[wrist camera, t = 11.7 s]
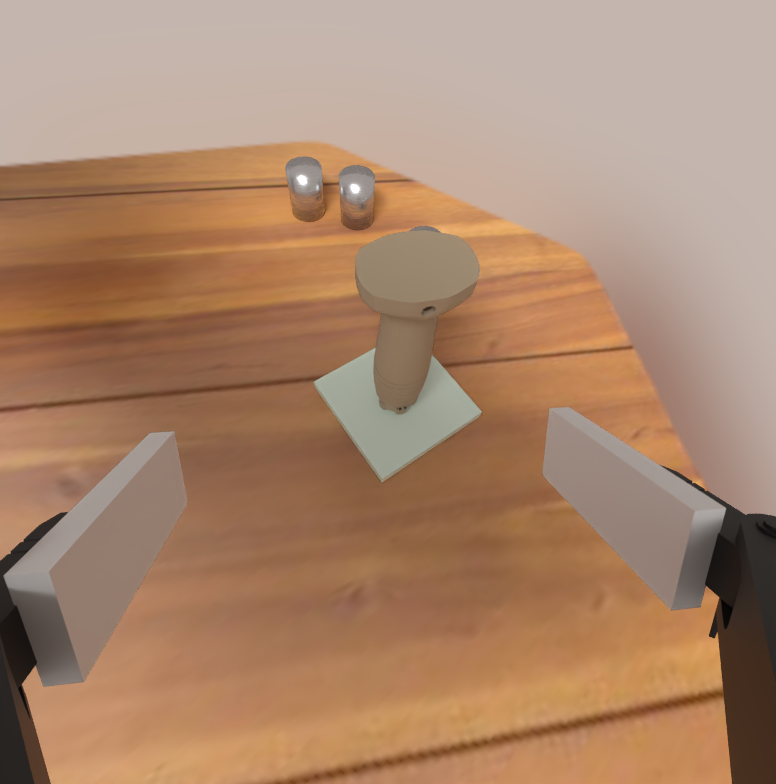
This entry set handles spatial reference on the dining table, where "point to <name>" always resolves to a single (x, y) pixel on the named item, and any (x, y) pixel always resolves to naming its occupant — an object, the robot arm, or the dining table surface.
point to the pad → (386, 428)
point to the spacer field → (353, 193)
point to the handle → (411, 304)
